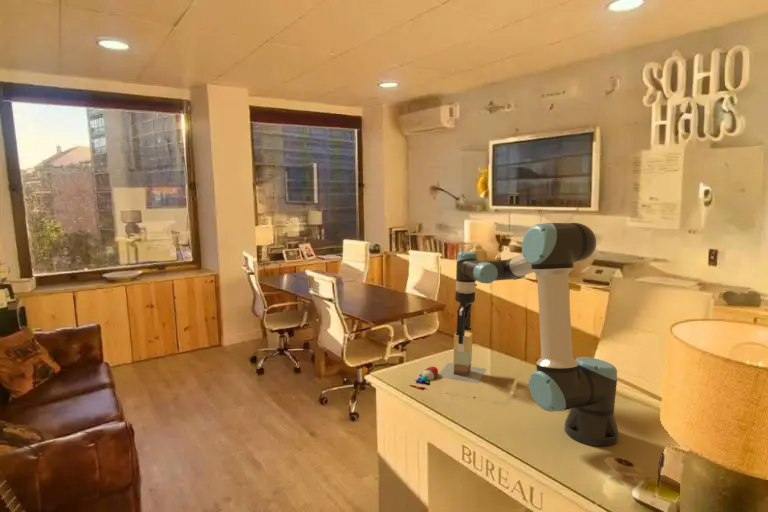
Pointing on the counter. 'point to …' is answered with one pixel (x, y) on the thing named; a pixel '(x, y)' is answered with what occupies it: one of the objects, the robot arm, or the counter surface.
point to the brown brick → (462, 369)
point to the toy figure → (426, 377)
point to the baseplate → (472, 376)
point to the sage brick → (462, 357)
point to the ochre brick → (467, 341)
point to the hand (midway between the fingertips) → (462, 348)
